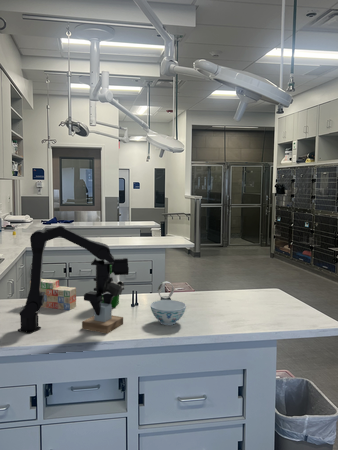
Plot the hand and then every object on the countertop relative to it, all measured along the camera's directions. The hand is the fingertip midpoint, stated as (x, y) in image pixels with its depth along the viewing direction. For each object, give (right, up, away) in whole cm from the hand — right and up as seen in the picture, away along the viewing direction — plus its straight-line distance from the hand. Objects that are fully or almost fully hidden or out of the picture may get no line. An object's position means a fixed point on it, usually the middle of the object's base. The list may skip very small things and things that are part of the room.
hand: (102, 312), depth 164 cm
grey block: (0, -3, 0) cm, 3 cm away
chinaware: (+27, -6, +6) cm, 28 cm away
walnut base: (0, -6, +1) cm, 6 cm away
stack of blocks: (-28, -3, +27) cm, 39 cm away
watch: (+25, -3, +33) cm, 42 cm away
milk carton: (-1, -3, +30) cm, 30 cm away
